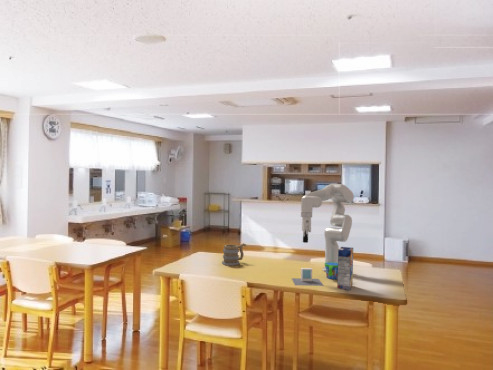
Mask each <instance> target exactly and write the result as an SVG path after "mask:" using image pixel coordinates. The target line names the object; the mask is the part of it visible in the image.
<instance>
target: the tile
mask: <svg viewBox="0 0 493 370" xmlns="http://www.w3.org/2000/svg"><path fill="white" fill-rule="evenodd" d="M300 278H301V281H312V279H313V267H301V268H300Z"/></svg>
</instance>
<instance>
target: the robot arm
mask: <svg viewBox="0 0 493 370" xmlns="http://www.w3.org/2000/svg"><path fill="white" fill-rule="evenodd" d="M354 196H355V195H354V193H353V191H352V190H351V189H350V188H349V187H348V186H346V185H345V184H343V183H330V184H328V185H327V186H324V187H322V188H321V189H319V190H315V191H310V192H308V193H307V194H305V195H304V196H302V197H301V203H300V217H301V218H302V219H301V231H302V233H303V234H302V243H305V244H307V243H309V233H311V232H312V218H313V208H320V207H321V206H322V205H323V202H325V201H329V200H330V199H331V201H332V204H333V209H332V212H331V216H330V221H329V224H330V226H331V227H326V228H325V229H324V234H323V235H324V240H325V248H324V249H325V251H324V253H325V254H324V264H325V263H326V262H335V263H338V250H339V249H340V247H339V243H338V242H341V243H342V242H343V243H344V242H347V240H349V236H350V232H351V229H352V225H353V219H352V217H351V215H348V214H345V212H346V207H345V205H344V204H343V203H351V202H352V201H353V200H354ZM322 271H324V272H326V269H325V266H324V267H322Z"/></svg>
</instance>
